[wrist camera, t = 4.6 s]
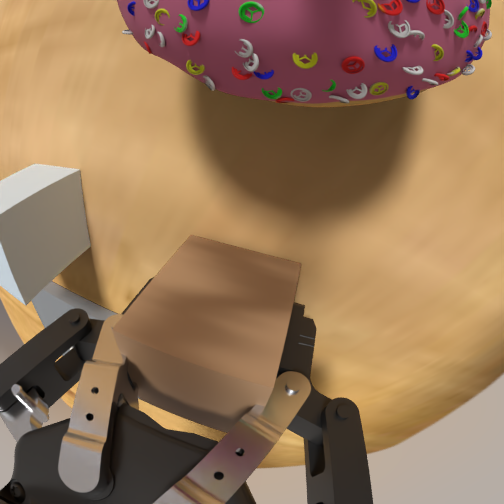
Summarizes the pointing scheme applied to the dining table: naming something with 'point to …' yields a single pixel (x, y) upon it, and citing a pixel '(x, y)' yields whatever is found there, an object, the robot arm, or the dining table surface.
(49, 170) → the greyblue block
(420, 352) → the dining table surface
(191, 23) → the cupcake
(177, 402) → the walnut block
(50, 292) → the grey flat plate
